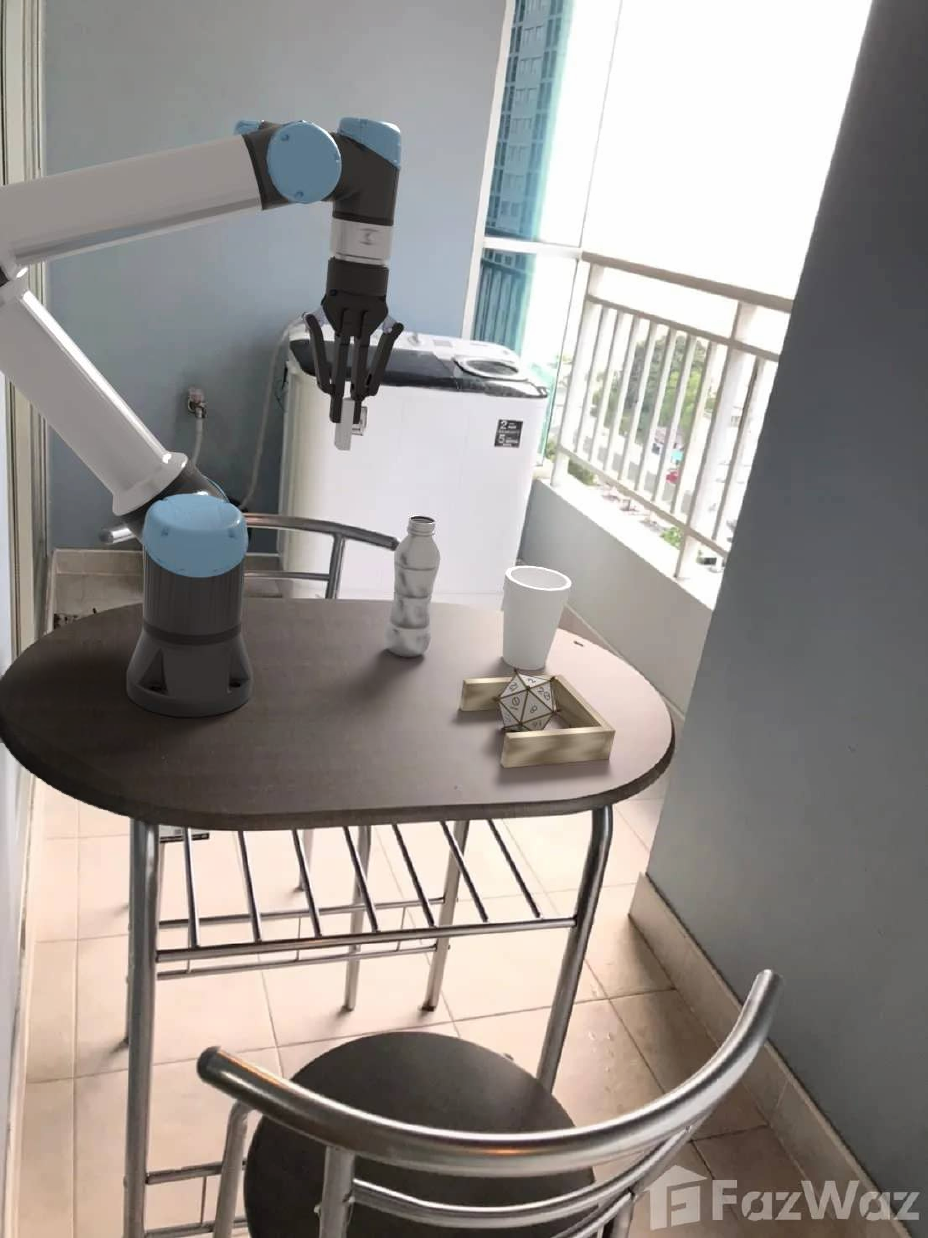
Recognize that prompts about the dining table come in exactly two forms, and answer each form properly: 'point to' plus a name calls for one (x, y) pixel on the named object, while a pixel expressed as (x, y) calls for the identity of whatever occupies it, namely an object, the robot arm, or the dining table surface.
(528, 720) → the game die
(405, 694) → the dining table surface
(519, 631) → the foam cup
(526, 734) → the corral
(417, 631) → the plastic bottle
